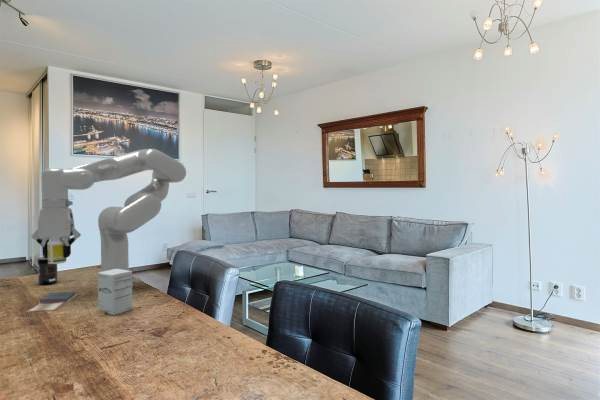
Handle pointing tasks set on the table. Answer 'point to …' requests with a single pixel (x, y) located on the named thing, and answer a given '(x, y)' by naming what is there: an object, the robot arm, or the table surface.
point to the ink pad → (57, 297)
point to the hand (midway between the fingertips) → (57, 256)
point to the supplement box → (115, 291)
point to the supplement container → (46, 272)
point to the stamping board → (47, 306)
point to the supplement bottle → (56, 251)
